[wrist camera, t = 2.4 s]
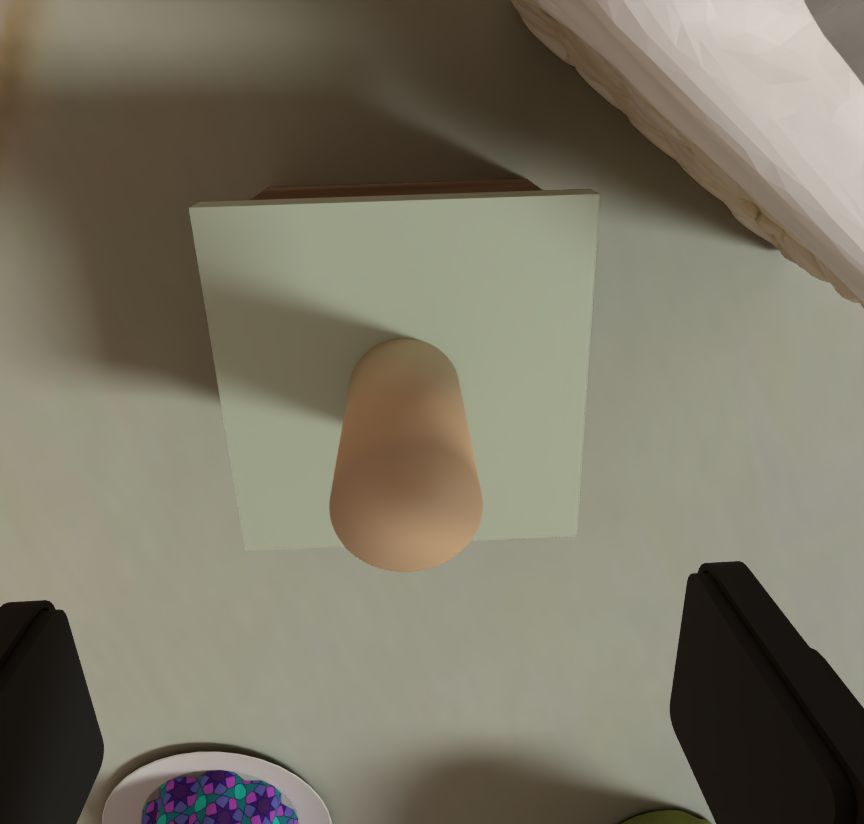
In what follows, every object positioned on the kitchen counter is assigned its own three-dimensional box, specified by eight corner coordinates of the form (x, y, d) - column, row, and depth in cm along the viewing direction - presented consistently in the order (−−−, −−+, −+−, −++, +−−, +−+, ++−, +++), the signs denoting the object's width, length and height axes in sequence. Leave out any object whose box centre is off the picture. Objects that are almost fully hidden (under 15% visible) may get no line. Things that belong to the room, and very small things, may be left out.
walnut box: (268, 187, 25) (221, 221, 18) (526, 178, 25) (569, 209, 18) (295, 422, 28) (265, 517, 22) (520, 412, 29) (554, 505, 22)
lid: (210, 195, 19) (89, 263, 12) (579, 183, 19) (691, 241, 12) (258, 511, 23) (191, 710, 16) (561, 498, 24) (636, 687, 16)
